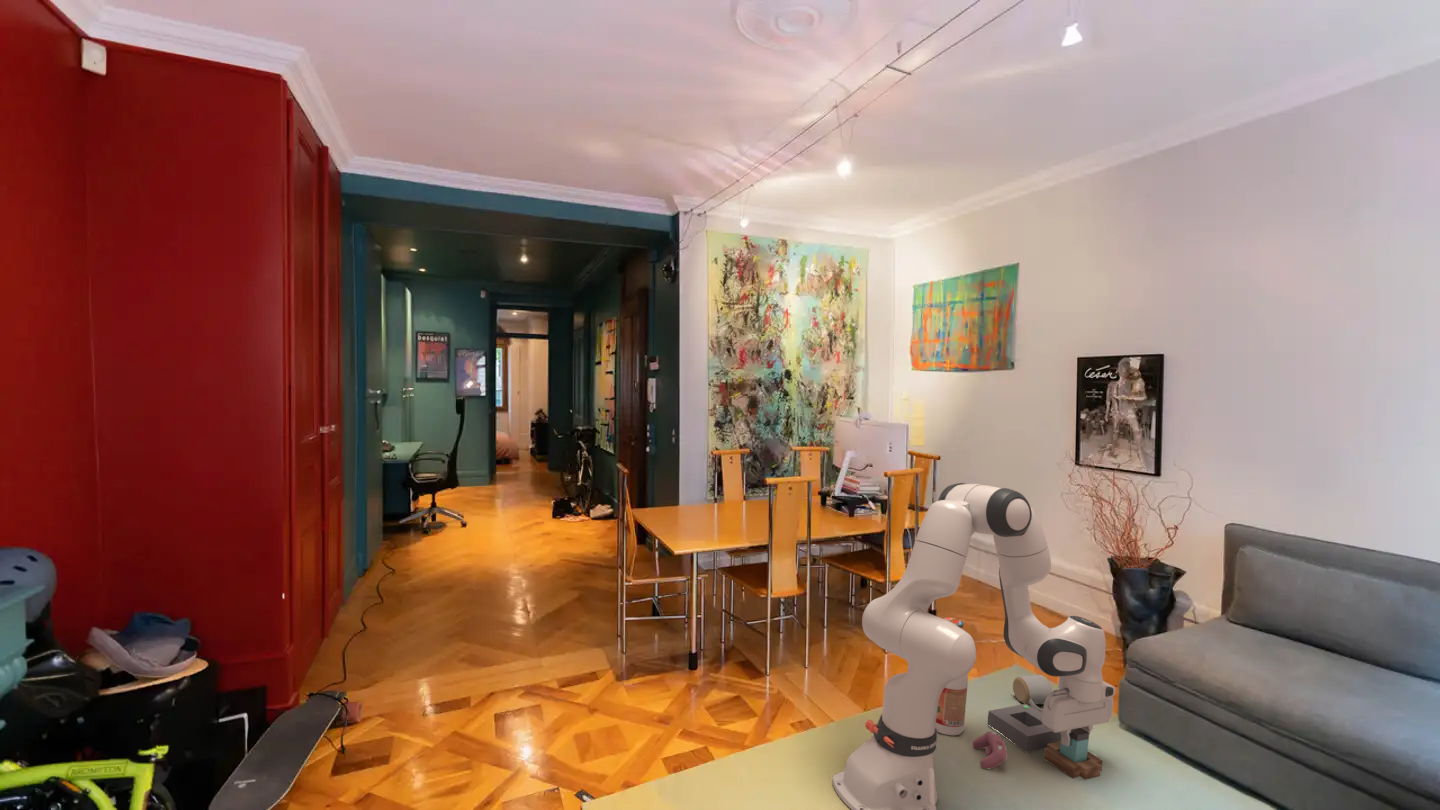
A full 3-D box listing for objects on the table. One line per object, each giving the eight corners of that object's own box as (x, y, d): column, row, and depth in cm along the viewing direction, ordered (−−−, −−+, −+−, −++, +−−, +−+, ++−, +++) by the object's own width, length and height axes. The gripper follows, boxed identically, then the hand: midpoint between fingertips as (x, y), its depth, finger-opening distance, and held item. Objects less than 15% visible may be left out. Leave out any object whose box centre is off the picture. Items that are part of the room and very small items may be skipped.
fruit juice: (961, 741, 149) (971, 631, 148) (922, 728, 153) (931, 621, 153) (965, 723, 157) (974, 619, 156) (928, 712, 162) (937, 611, 161)
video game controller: (997, 779, 137) (1014, 755, 136) (979, 767, 138) (995, 743, 137) (986, 754, 147) (1002, 731, 146) (969, 743, 147) (985, 720, 147)
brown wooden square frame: (1077, 781, 136) (1078, 771, 136) (1039, 755, 145) (1040, 745, 145) (1106, 773, 140) (1107, 763, 140) (1067, 749, 149) (1068, 739, 149)
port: (1026, 752, 146) (1027, 735, 146) (987, 725, 157) (988, 709, 157) (1065, 743, 151) (1067, 726, 151) (1025, 718, 163) (1026, 702, 162)
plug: (1074, 768, 139) (1077, 735, 139) (1059, 758, 143) (1062, 725, 143) (1086, 765, 141) (1089, 732, 141) (1070, 755, 145) (1073, 723, 145)
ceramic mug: (1009, 695, 175) (1012, 670, 175) (1033, 695, 176) (1036, 669, 176) (1034, 716, 164) (1037, 689, 164) (1060, 715, 166) (1063, 688, 166)
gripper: (1061, 698, 135) (1055, 757, 135) (1120, 687, 143) (1115, 744, 143) (1037, 684, 141) (1031, 741, 141) (1095, 675, 149) (1090, 729, 149)
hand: (1074, 743), depth 142 cm, fingers closed on plug, 4 cm apart
